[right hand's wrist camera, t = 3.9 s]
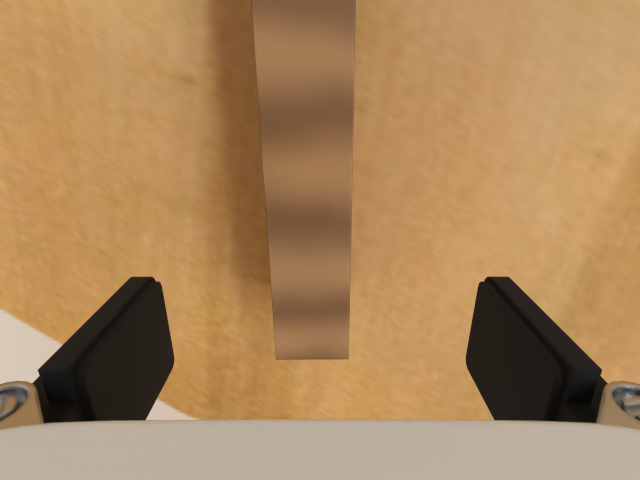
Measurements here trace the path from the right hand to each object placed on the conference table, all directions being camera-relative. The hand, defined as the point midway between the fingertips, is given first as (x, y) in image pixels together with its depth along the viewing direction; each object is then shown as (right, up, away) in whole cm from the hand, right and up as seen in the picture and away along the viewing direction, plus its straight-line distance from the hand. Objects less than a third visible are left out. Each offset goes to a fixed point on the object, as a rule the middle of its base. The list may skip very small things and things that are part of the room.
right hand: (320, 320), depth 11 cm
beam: (-1, +32, +7) cm, 33 cm away
